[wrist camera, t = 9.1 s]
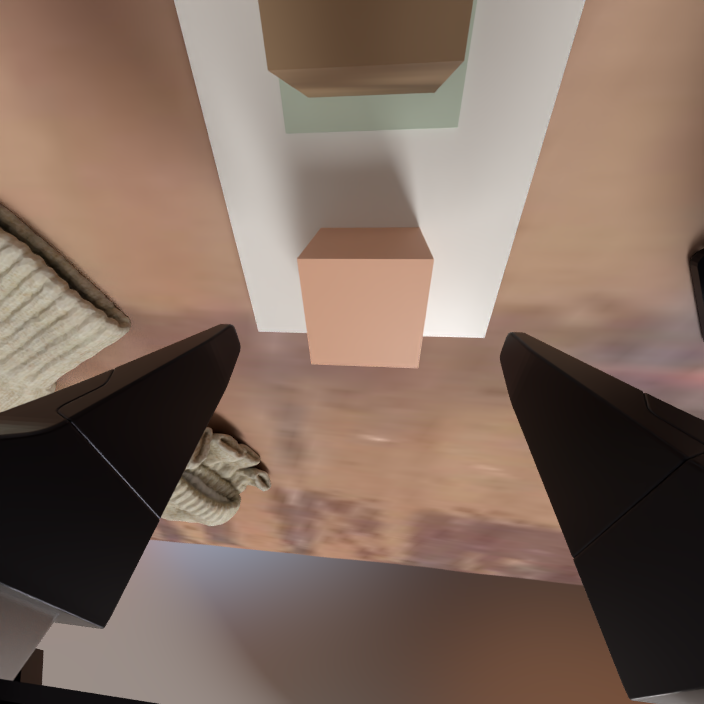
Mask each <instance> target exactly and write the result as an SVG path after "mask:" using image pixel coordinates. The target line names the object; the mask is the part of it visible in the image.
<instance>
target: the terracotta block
mask: <svg viewBox="0 0 704 704" xmlns="http://www.w3.org/2000/svg"><path fill="white" fill-rule="evenodd" d="M297 263H298V271H299V278H300V285H301V292H302V300H303V307H304V314H305V321H306V329H307V336H308V343H309V350H310V358H311V364H320V365H346V366H373V367H399V368H418V366H419V359H420V352H421V345H422V338H423V331H424V325H425V318H426V311H427V304H428V297H429V290H430V284H431V277H432V270H433V263H434V258H433V256H432V254H431V252H430V249H429V247H428V245H427V243H426V241H425V238H424V236H423V234H422V232H421V229H420V227H391V228H320V230H319V231H318V232H317V233H316V235H315V236H314V237H313V239H312V240H311V241H310V242H309V244H308V245H307V246H306V248H305V249H304V250H303V251H302V253H301V254H300V255H299V257H298V258H297Z"/></svg>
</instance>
